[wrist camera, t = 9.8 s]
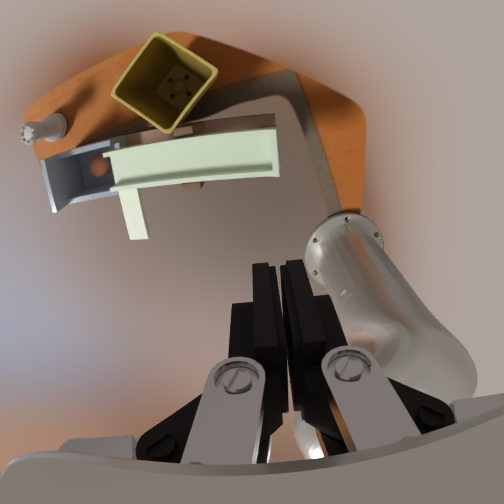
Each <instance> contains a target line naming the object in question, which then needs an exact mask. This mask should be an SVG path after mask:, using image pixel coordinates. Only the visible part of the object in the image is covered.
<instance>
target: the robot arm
mask: <svg viewBox="0 0 504 504" xmlns="http://www.w3.org/2000/svg"><path fill="white" fill-rule="evenodd" d="M346 217H347V219H345V218H346ZM375 232H376V233H375ZM374 233H375V234H374ZM315 237H316V238H315ZM313 238H315V239H313ZM305 262H306V266H307V269H308V271H309V273H310V274H311V275H312V277H313V278H314V279H315V280H316V281H317V282H319V283H320V284H322V285H324V286H325V287H326V289H327V293H328V295H319V296H313V292H312V289H311V286H310V283H309V279H308V276H307V273H306V269H305V267H304V263H303V260H302V259H299V260H290V261H286V265H281V266H280V274H281V290H282V308H283V316H282V310H281V303H280V296H279V289H278V282H277V275H276V268H275V266H270V267H269V264H268V262H267V263H256V264H252V267H253V268H252V271H253V302H246V303H234V304H232V311H231V325H230V339H229V354H228V359H225V360H223V361H221V362H219V363H218V364H216V365H215V366H214V367H213V368H212V369H211V371H210V373H209V375H208V378H207V381H206V384H205V387H204V390H203V393H202V394H201V395H199V396H198V397H196V398H195V399H194V400H192V401H191V402H189V403H188V404H187V405H185V406H184V407H183V408H181V409H179V410H178V411H176V412H175V413H174V414H172V415H171V416H169V417H168V418H166V419H165V420H163V421H162V422H160V423H159V424H157V425H156V426H154V427H153V428H152V429H150V430H148V431H147V432H146V433H144V434H143V435H142V436H141V437H139V438H134V437H133V436H132V435H125V436H114V437H101V438H100V437H99V438H78V439H71V440H68V441H67V442H65V443H64V444H63V445H62V446H61V447H60V448H59V450H58V451H42V452H35V453H29V454H25V455H22V456H19V457H17V458H15V459H13V460H12V461H10V462H9V463H8V464H7V465H6V466H5V467H4V469H3V470H2V472H1V473H0V504H504V393H502V394H495V395H490V396H483V397H476V398H472V397H473V395H474V393H475V390H476V386H477V372H476V368H475V364H474V362H473V360H472V358H471V356H470V355H469V353H468V351H467V350H466V349H465V348H464V346H463V345H462V344H461V343H460V341H459V340H458V339H457V338H456V337H455V336H454V335H452V333H450V331H448V330H447V329H446V328H445V327H444V326H443V325H442V324H441V323H440V322H439V321H438V320H437V319H436V318H435V316H434V315H433V314H432V313H431V312H430V311H429V310H428V308H427V307H426V306H425V305H424V303H423V302H422V301H421V299H420V298H419V297H418V295H417V294H416V293H415V292H414V290H413V289H412V287H411V286H410V285H409V283H408V282H407V281H406V279H405V278H404V277H403V275H402V274H401V273H400V271H399V270H398V269H397V267H396V266H395V265H394V264H393V262H392V261H391V260H390V258H389V257H388V256H387V255H386V253H385V252H384V242H383V237H382V234H381V232H380V230H379V229H378V227H377V226H376V225H375V224H374V223H373V222H372V221H371V220H370V219H368V218H367V217H365V216H363V215H361V214H357V213H340V214H336V215H333V216H331V217H328V218H327V219H325V220H324V221H322V222H321V223H320V224H319V225H318V226H316V227H315V229H314V230H313V231H312V233H311V234H310V236H309V238H308V240H307V243H306V246H305ZM315 270H316V271H315ZM348 345H349V346H348ZM287 360H288V367H289V376H290V383H291V391H292V399H293V407H294V413H293V417H292V429H293V433H294V437H295V440H296V442H297V444H298V447H299V449H300V450H301V452H302V454H303V456H304V457H305V458H306V460H298V461H288V462H278V463H269V459H270V451H271V444H272V434H273V433H274V432H275V431H276V430H277V429H278V428H279V427H280V426H281V425H282V424H283V419H282V413H286V412H289V407H288V374H287Z"/></svg>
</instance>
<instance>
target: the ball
mask: <svg viewBox="0 0 504 504" xmlns="http://www.w3.org/2000/svg"><path fill="white" fill-rule="evenodd" d="M109 170H110V162H109V160H108V159H107V158H106V157H104V158H103V156H97V157H95V158H94V159H93V160H92V161H91V163H90V171H91V173H92V174H93V175H94V176H96V177H103V176H105V175H106V174H107V173H108V172H109Z"/></svg>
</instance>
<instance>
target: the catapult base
mask: <svg viewBox="0 0 504 504" xmlns="http://www.w3.org/2000/svg"><path fill="white" fill-rule="evenodd" d="M272 127H276V125H275V114H261V115H251V116H240V117H232V118H222V119H215V120H207V121H200V122H193V123H187V124H181V125H180V126H179V127H177V128H175V129H173V132H172V133H171V134H166V133H164V132H162V131H161V130H159V129H153V130H148V131H143V132H138V133H134V134H129V135H126V136H125V137H126V143H127V147H128V146H133V145H138V144H144V143H149V142H155V141H161V140H167V139H173V138H179V137H186V136H193V135H201V134H209V133H217V132H226V131H236V130H246V129H258V128H272ZM204 183H205V181H199V182H189V183H182V191H183V192H184V191H191V190H200V189H201V188H202V186H203V184H204Z"/></svg>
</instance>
